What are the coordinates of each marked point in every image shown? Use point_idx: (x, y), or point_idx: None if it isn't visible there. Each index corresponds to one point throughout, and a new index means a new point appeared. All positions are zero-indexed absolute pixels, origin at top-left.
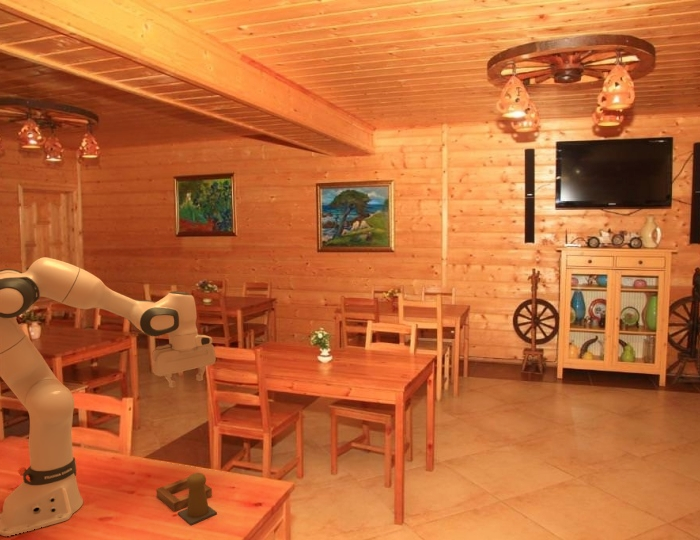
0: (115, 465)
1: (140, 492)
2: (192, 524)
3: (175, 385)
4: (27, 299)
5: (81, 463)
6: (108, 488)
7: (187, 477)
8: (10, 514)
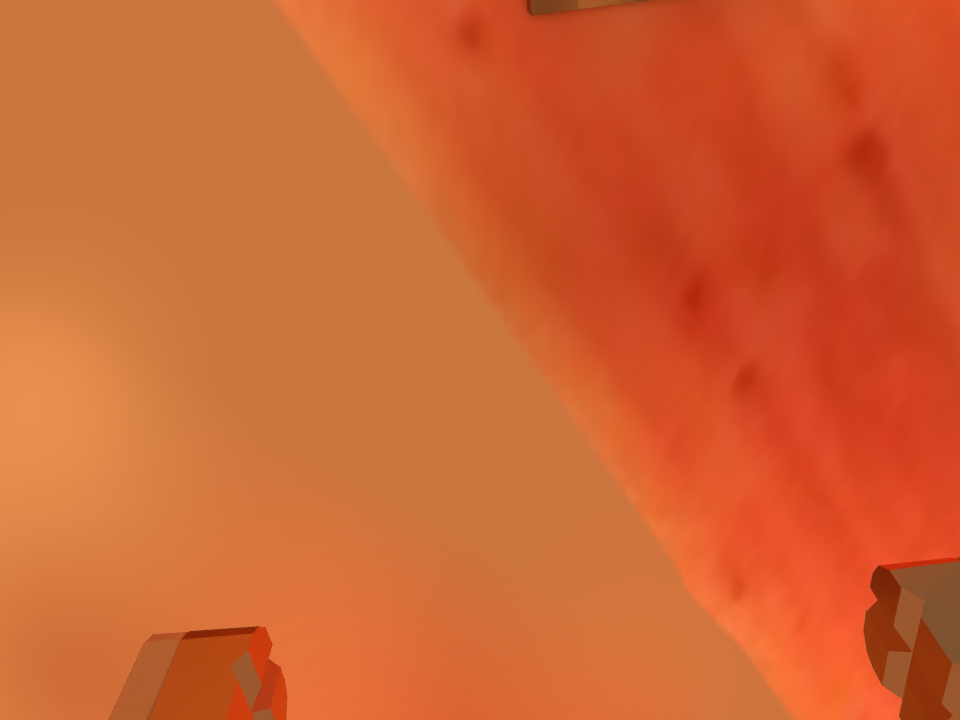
0: (771, 510)
1: (834, 113)
2: None
3: (900, 575)
4: None
5: None
6: (930, 284)
7: (574, 8)
8: None
